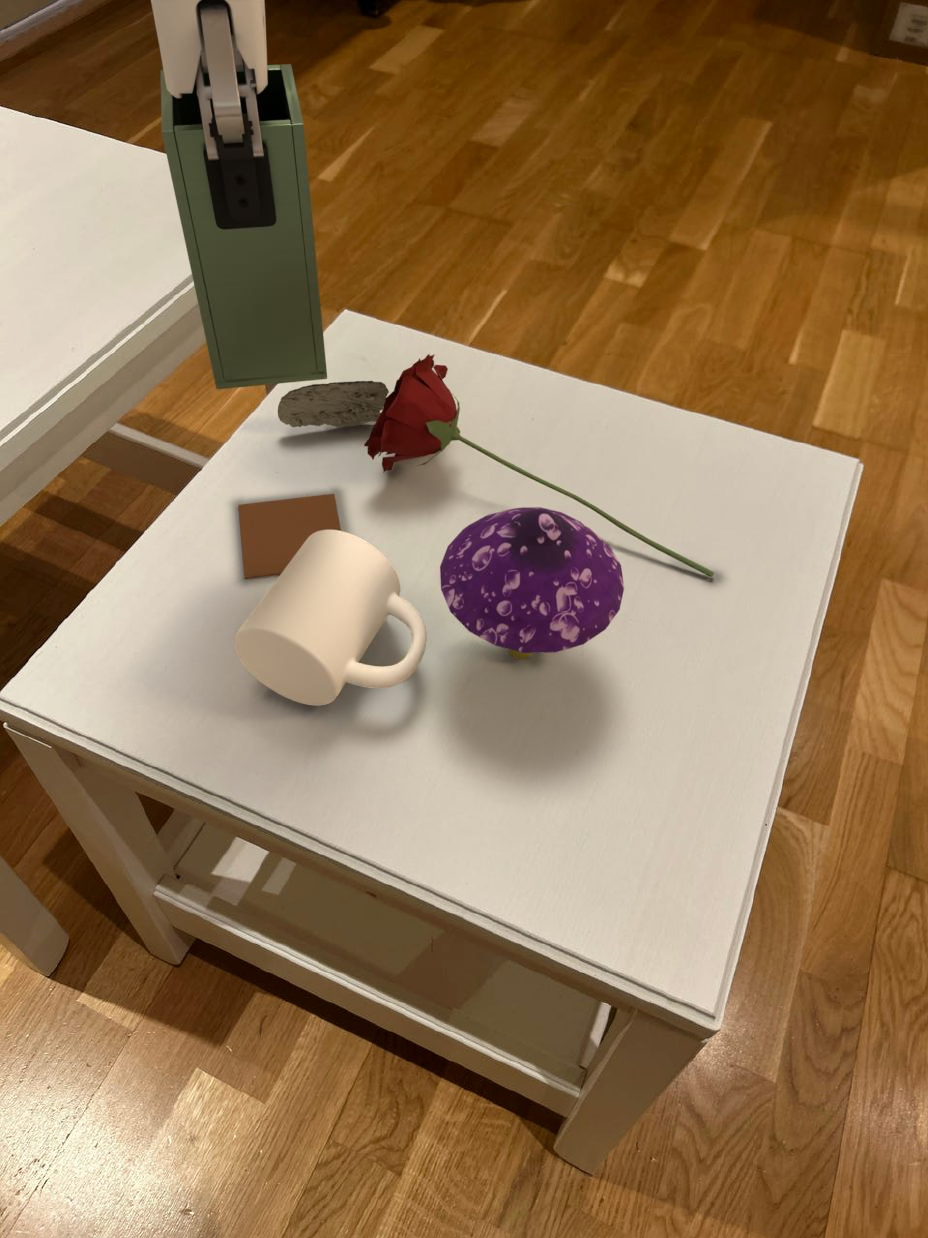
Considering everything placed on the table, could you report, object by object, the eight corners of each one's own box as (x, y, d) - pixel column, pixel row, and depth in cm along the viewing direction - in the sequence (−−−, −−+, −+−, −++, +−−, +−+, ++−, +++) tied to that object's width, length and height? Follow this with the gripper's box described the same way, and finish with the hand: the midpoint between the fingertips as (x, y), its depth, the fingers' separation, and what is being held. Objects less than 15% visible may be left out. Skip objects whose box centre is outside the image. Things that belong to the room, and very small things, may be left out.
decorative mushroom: (408, 686, 68) (406, 549, 56) (477, 568, 75) (489, 424, 63) (568, 752, 65) (603, 622, 53) (625, 622, 72) (666, 482, 60)
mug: (242, 681, 67) (224, 613, 61) (310, 584, 73) (300, 513, 67) (391, 742, 65) (389, 679, 59) (450, 638, 71) (453, 569, 64)
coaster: (244, 579, 73) (244, 577, 73) (238, 506, 78) (238, 504, 78) (346, 566, 74) (346, 564, 74) (334, 495, 79) (334, 493, 79)
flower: (721, 582, 68) (366, 390, 71) (665, 655, 77) (351, 481, 79) (761, 490, 74) (434, 317, 77) (705, 567, 83) (412, 409, 86)
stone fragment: (279, 434, 83) (275, 389, 79) (279, 428, 83) (275, 384, 79) (388, 425, 85) (389, 382, 81) (387, 420, 85) (388, 377, 81)
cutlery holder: (216, 389, 59) (161, 131, 46) (211, 323, 63) (160, 69, 50) (327, 379, 60) (303, 123, 47) (316, 314, 64) (291, 63, 51)
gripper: (91, -278, 43) (172, 119, 57) (75, -169, 33) (177, 281, 47) (256, -276, 44) (295, 112, 58) (289, -170, 34) (326, 269, 48)
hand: (242, 185), depth 53 cm, fingers closed on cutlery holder, 7 cm apart
